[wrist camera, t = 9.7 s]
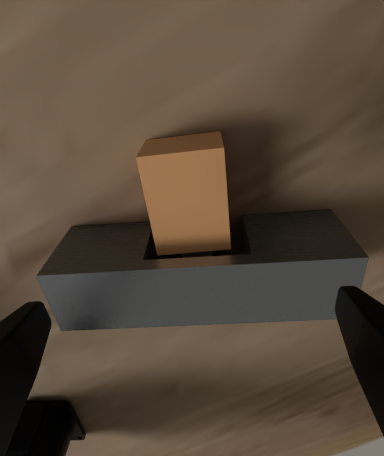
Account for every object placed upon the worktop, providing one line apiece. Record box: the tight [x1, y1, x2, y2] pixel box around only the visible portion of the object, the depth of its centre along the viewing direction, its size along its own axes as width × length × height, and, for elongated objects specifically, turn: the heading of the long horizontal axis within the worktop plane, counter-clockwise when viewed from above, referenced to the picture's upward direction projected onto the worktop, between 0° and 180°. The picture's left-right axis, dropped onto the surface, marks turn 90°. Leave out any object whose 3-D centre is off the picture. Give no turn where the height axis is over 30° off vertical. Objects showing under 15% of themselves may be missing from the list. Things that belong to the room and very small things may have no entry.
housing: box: [37, 210, 369, 331], centre depth 18 cm, size 4×16×5 cm, turn 95°
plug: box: [136, 131, 231, 258], centre depth 18 cm, size 10×4×3 cm, turn 7°
